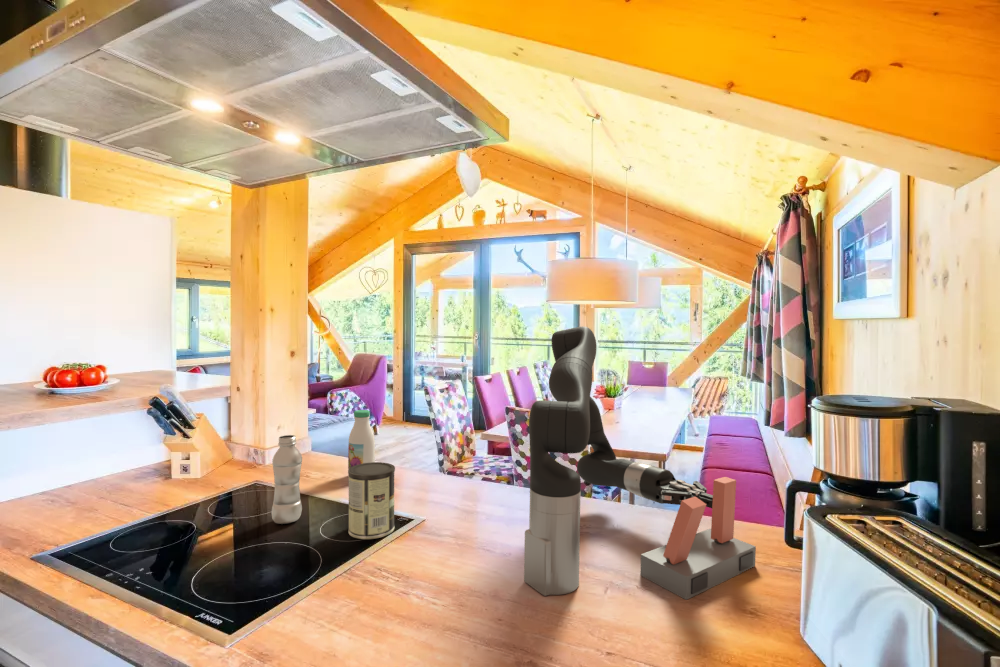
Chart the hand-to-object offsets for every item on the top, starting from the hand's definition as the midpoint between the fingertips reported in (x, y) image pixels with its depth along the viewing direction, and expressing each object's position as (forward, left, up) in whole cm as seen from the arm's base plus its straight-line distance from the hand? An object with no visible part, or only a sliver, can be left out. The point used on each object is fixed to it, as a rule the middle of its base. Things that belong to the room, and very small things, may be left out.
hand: (718, 503), depth 102 cm
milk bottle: (-43, +90, -12) cm, 100 cm away
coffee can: (-54, +51, -12) cm, 75 cm away
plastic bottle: (-69, +66, -12) cm, 96 cm away
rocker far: (0, -1, -7) cm, 7 cm away
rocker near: (-15, -1, -7) cm, 16 cm away
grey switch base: (-8, -1, -11) cm, 14 cm away
